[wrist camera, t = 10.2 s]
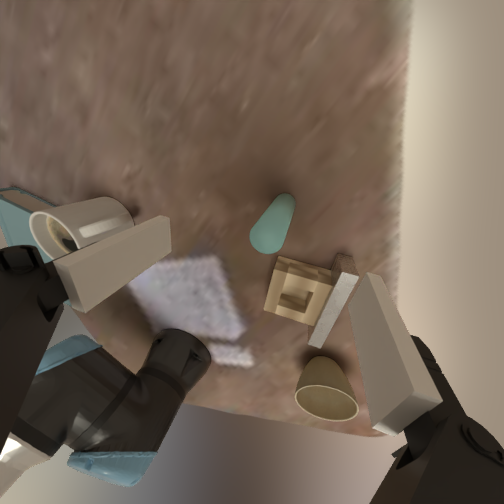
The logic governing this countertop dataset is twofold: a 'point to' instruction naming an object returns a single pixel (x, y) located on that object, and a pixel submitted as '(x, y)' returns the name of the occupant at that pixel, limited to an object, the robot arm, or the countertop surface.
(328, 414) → the flower pot
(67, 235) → the mug
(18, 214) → the book
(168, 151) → the countertop surface
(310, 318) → the block
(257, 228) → the dowel
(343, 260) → the backstop rail
